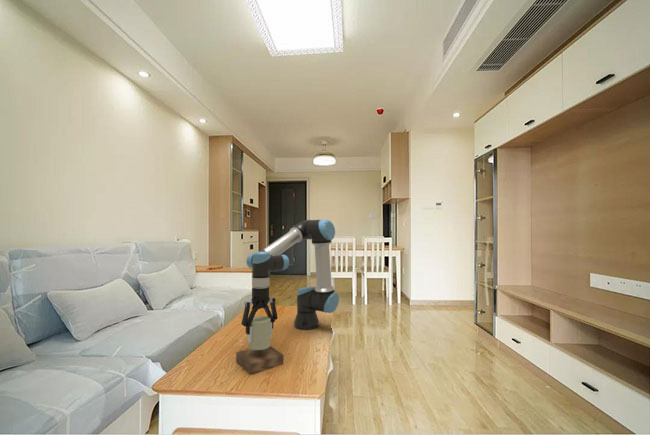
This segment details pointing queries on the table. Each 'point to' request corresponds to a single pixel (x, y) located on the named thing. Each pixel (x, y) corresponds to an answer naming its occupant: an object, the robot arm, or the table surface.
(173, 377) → the table surface
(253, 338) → the can
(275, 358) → the brown flat square block
